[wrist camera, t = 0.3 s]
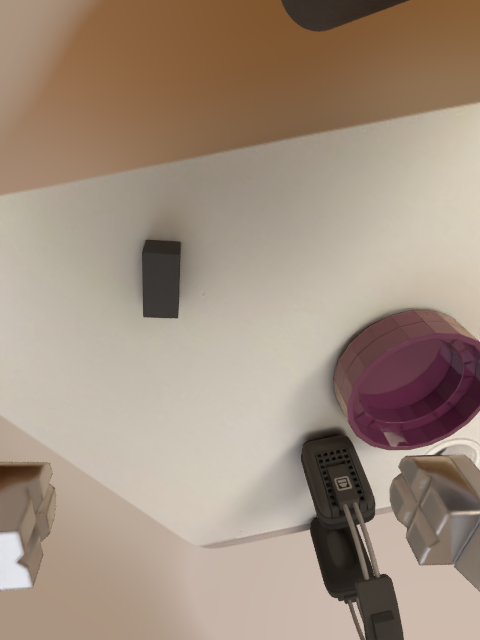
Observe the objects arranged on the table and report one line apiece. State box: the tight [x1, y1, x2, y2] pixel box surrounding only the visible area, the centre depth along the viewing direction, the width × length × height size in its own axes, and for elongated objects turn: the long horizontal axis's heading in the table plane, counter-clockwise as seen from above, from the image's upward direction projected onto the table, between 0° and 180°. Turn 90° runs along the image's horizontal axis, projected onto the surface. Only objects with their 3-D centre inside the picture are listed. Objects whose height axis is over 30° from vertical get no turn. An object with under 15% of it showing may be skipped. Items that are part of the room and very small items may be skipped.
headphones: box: [301, 435, 404, 640], centre depth 46 cm, size 22×6×20 cm, turn 9°
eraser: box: [142, 240, 181, 318], centre depth 35 cm, size 6×3×3 cm, turn 174°
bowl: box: [334, 310, 480, 450], centre depth 43 cm, size 15×15×5 cm
